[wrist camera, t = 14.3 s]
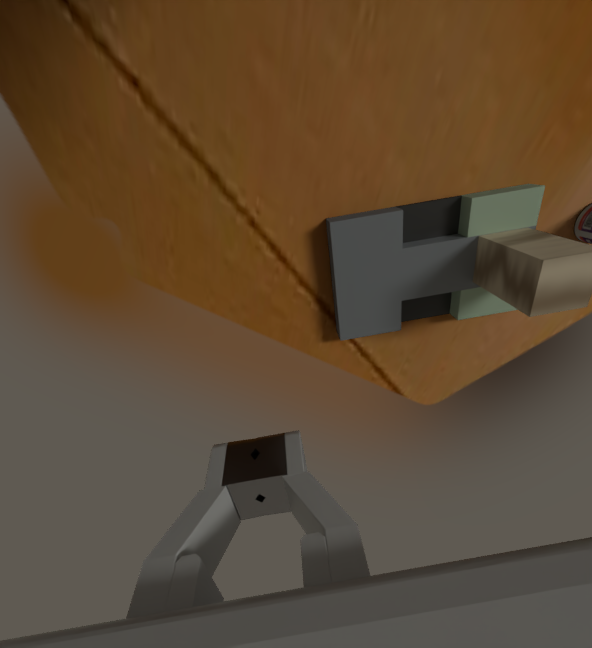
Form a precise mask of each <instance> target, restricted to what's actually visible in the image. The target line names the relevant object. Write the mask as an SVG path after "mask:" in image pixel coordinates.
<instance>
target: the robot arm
mask: <svg viewBox="0 0 592 648" xmlns="http://www.w3.org/2000/svg"><path fill="white" fill-rule="evenodd" d="M291 511H292V513H293V515H294V516H295V518H296V519H297V521H298V522H299V524H300V525H301V527H302V528H303V530H304V531H305V532H306V535H304V536H303V537H302V539H301V540H300V543H301V556H302V568H303V569H302V570H303V583H304V588H298V589H293V590H287V591H282V592H276V593H270V594H264V595H259V596H253V597H247V598H242V599H236V600H230V601H224V602H223V599H224V598H223V597H222V595H221V593H220V591H219V589H218V588H217V586H216V584H215V582H214V581H213V579H212V576H213V574H214V571H215V570H216V568H217V566H218V564H219V562H220V560H221V559H222V557H223V555H224V553H225V551H226V549H227V547H228V545H229V543H230V541H231V540H232V538H233V536H234V534H235V532H236V530H237V528H238V526H239V524H240V523H241V522H240V520H245V519H250V518H255V517H259V516H264V515H270V514H277V513H284V512H291ZM0 648H592V537H590V538H584V539H579V540H573V541H567V542H562V543H556V544H550V545H545V546H540V547H533V548H527V549H522V550H516V551H510V552H505V553H499V554H493V555H487V556H481V557H476V558H470V559H464V560H459V561H453V562H448V563H442V564H436V565H430V566H424V567H419V568H413V569H407V570H401V571H396V572H390V573H384V574H379V575H373V576H370V573H369V569H368V565H367V561H366V557H365V553H364V549H363V545H362V541H361V537H360V533H359V529H358V525H357V523H356V522H355V521H354V520H353V519H352V518H351V517H350V516H349V515H348V514H347V513H346V511H345V510H344V509H343V508H342V507H341V506H340V505H339V504H338V503H337V502H336V500H335V499H334V498H333V497H332V496H331V495H330V494H329V493H328V492H327V491H326V490H325V488H323V486H322V485H321V484H320V483H319V482H318V481H317V480H316V479H315V477H313V475H312V474H311V473H310V472H307V467H306V461H305V455H304V450H303V445H302V440H301V435H300V431H299V430H298V431H292V432H286V433H281V434H275V435H269V436H264V437H259V438H256V439H248V440H241V441H234V442H228V443H223V444H216V445H214V446H213V448H212V450H211V455H210V461H209V466H208V471H207V476H206V482H205V487H204V490H200V491H199V492H198V493H197V494H196V496H195V497H194V498H193V499H192V501H191V502H190V503H189V504H188V506H187V507H186V508H185V510H184V511H183V512H182V513H181V514H180V516H179V517H178V518H177V520H176V521H175V522H174V523H173V525H172V526H171V527H170V528H169V530H168V531H167V532H166V533H165V535H164V536H163V537H162V538H161V540H160V541H159V542H158V544H157V545H156V546H155V548H154V549H153V550H152V551H151V553H150V554H149V555H148V556H147V557H146V559H145V560H144V562H143V565H142V568H141V571H140V575H139V578H138V581H137V584H136V588H135V591H134V595H133V598H132V601H131V604H130V608H129V611H128V614H127V617H126V619H122V620H116V621H110V622H105V623H99V624H93V625H88V626H82V627H76V628H71V629H65V630H59V631H53V632H48V633H42V634H37V635H31V636H25V637H20V638H14V639H8V640H2V641H0Z"/></svg>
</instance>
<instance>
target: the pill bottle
mask: <svg viewBox="0 0 592 648" xmlns="http://www.w3.org/2000/svg"><path fill="white" fill-rule="evenodd" d="M575 235H576V237H577V238H578V239H579V240H581V241H583V242H586V243H590V244H592V204H590V205H589V206H588V207H586V208H585V209H584V210H583V211H582V213H581V214H580V215H579V217H578V219H577V221H576V223H575Z"/></svg>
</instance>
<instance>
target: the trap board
mask: <svg viewBox="0 0 592 648" xmlns="http://www.w3.org/2000/svg"><path fill="white" fill-rule="evenodd" d="M544 188H545V186H544V185H535V184H525V185H519V186H513V187H507V188H501V189H496V190H490V191H484V192H478V193H472V194H466V195H461V196H455V197H449V198H443V199H437V200H431V201H426V202H420V203H414V204H408V205H402V206H396V207H391V208H385V209H379V210H373V211H367V212H361V213H356V214H350V215H344V216H338V217H332V218H326V225H327V235H328V245H329V256H330V266H331V276H332V287H333V297H334V307H335V317H336V328H337V333H338V336H339V338H340V340H347V339H352V338H358V337H364V336H370V335H375V334H381V333H387V332H392V331H398V330H401V322H403V321H409V320H415V319H420V318H426V317H432V316H437V315H443V314H449V313H450V314H451V315H452V316H453V317H455V318H456V319H457V320H461V319H467V318H472V317H478V316H484V315H490V314H495V313H501V312H507V311H512V310H518V309H516V308H515V307H513V306H511V305H510V304H508V303H506V302H505V301H503V300H501V299H500V298H498V297H497V296H495V295H493V294H492V293H490V292H488V291H487V290H485V289H483V288H482V287H480V286H479V285H477V284H475V283H474V282H473V275H474V268H475V261H476V253H477V246H478V239H479V236H481V235H487V234H493V233H498V232H504V231H510V230H516V229H522V228H531V229H536V224H537V220H538V215H539V211H540V206H541V202H542V197H543V193H544Z"/></svg>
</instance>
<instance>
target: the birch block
mask: <svg viewBox="0 0 592 648" xmlns="http://www.w3.org/2000/svg"><path fill="white" fill-rule="evenodd" d="M473 282H474V283H475V284H477V285H479V286H480V287H482V288H483V289H485V290H487V291H488V292H490V293H492V294H493V295H495V296H497V297H498V298H500V299H501V300H503V301H505V302H506V303H508V304H510V305H511V306H513V307H515V308H516V309H518V310H519V311H521V312H523V313H524V314H526V315H528V316H529V317H531V316H537V315H543V314H548V313H554V312H560V311H566V310H571V309H577V308H583V307H587V305H588V302H589V299H590V296H591V294H592V245H589V244H585V243H581V242H578V241H574V240H571V239H567V238H563V237H560V236H556V235H553V234H549V233H545V232H542V231H538V230H535V229H531V228H522V229H516V230H510V231H504V232H498V233H493V234H487V235H481V236H479V239H478V246H477V253H476V261H475V268H474V275H473Z"/></svg>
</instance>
